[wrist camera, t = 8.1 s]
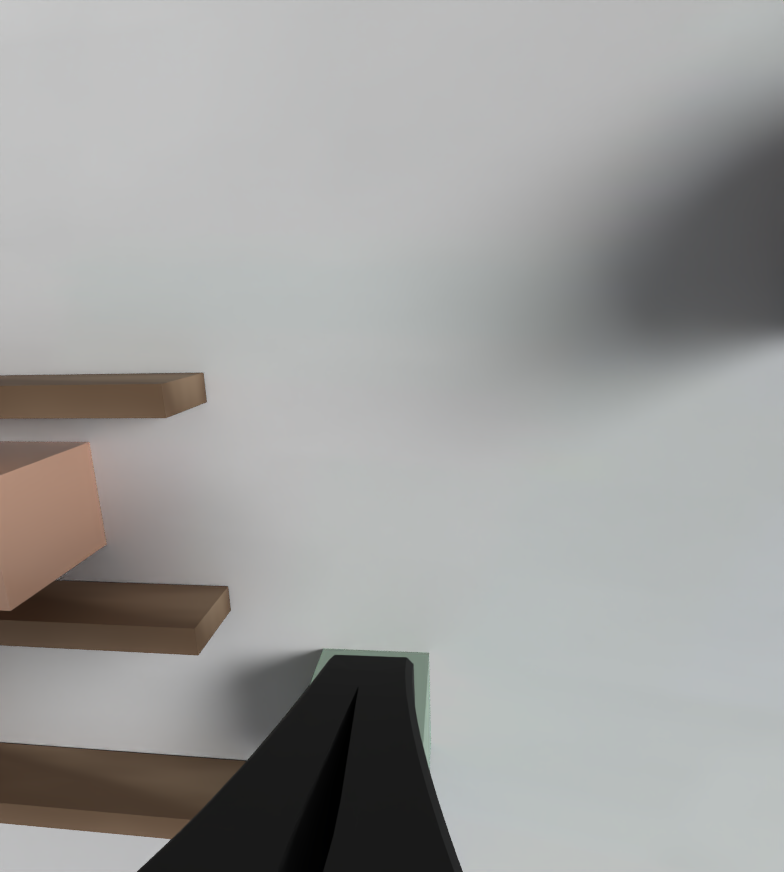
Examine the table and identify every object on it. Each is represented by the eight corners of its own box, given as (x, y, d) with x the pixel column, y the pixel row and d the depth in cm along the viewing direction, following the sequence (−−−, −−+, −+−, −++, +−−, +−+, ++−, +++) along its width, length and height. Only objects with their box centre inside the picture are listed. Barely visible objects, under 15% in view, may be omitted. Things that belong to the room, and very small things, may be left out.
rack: (250, 781, 21) (221, 849, 19) (-37, 758, 23) (-103, 818, 20) (203, 372, 17) (157, 384, 15) (-144, 377, 19) (-244, 389, 16)
